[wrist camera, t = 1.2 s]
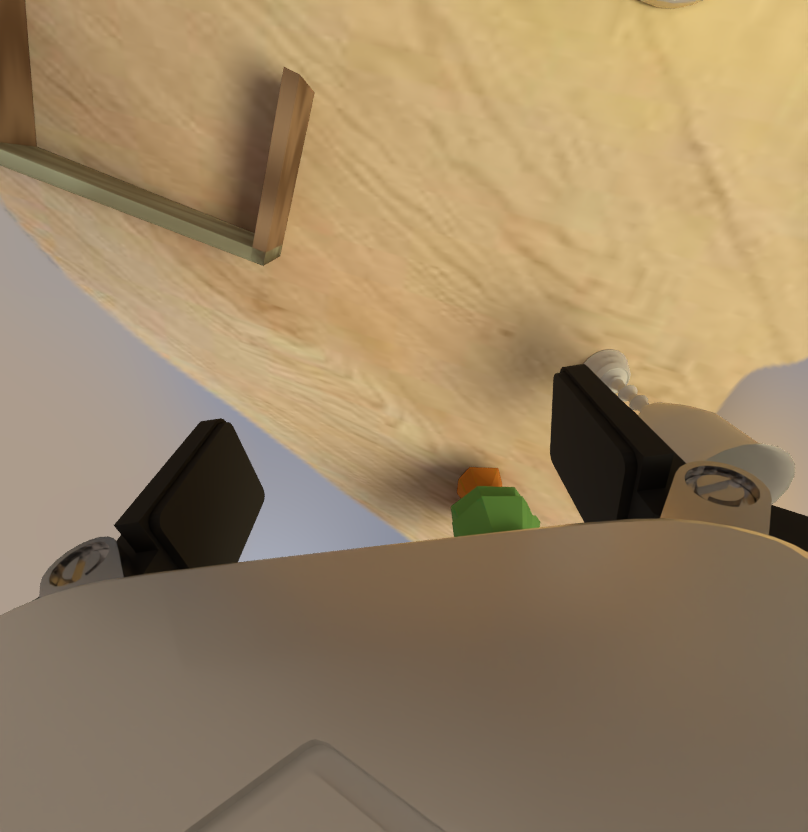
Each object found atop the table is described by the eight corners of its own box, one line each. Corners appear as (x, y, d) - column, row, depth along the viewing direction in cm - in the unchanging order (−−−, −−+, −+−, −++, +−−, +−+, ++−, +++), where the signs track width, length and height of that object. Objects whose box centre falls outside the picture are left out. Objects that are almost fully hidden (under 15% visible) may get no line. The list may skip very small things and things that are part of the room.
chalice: (556, 388, 41) (654, 509, 25) (593, 330, 38) (732, 429, 22) (612, 408, 42) (737, 534, 27) (652, 355, 39) (821, 463, 24)
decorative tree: (429, 493, 48) (469, 841, 22) (472, 439, 44) (580, 790, 18) (491, 519, 51) (590, 858, 25) (536, 471, 47) (711, 816, 21)
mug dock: (2, -60, 24) (-84, -115, 20) (314, 92, 28) (299, 74, 24) (23, 155, 29) (-41, 149, 25) (279, 256, 34) (263, 265, 29)
